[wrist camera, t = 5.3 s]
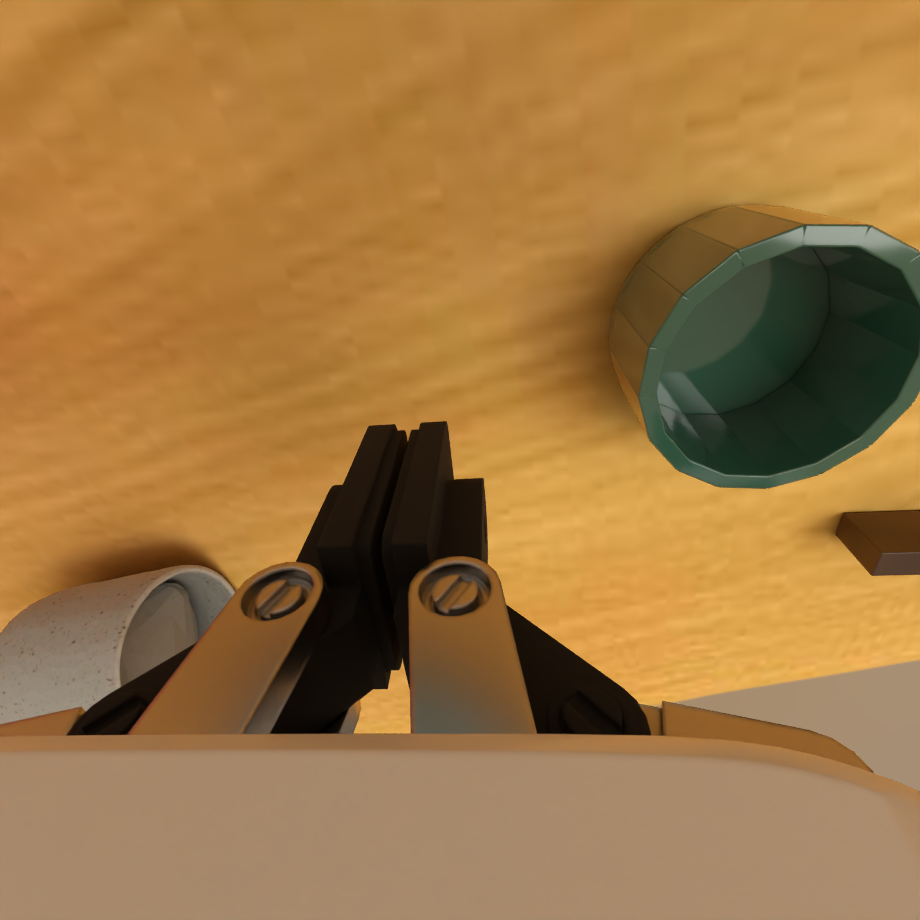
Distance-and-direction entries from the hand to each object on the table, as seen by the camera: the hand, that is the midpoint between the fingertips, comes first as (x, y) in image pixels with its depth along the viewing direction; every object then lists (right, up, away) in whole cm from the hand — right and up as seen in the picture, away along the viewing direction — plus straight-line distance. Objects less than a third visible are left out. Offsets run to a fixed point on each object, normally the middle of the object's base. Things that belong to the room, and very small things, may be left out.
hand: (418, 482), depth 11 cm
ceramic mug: (-14, -8, +16) cm, 22 cm away
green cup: (+10, +5, +6) cm, 13 cm away
